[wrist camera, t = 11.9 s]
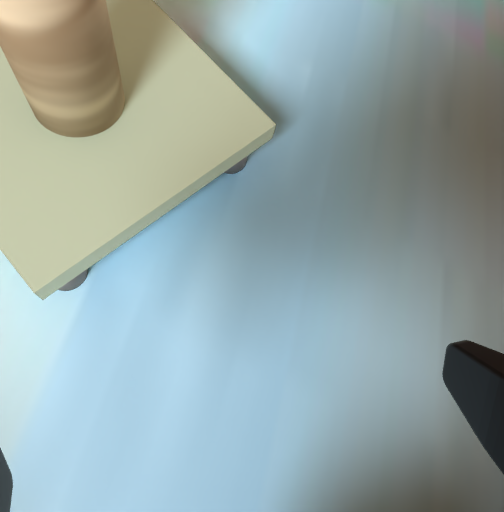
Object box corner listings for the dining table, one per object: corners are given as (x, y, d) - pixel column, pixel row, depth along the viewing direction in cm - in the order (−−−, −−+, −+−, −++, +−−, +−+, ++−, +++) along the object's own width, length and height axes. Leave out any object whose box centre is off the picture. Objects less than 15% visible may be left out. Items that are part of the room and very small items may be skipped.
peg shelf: (58, 312, 22) (34, 292, 19) (-92, 121, 24) (-138, 72, 21) (264, 162, 26) (276, 124, 23) (121, 13, 29) (111, -42, 25)
